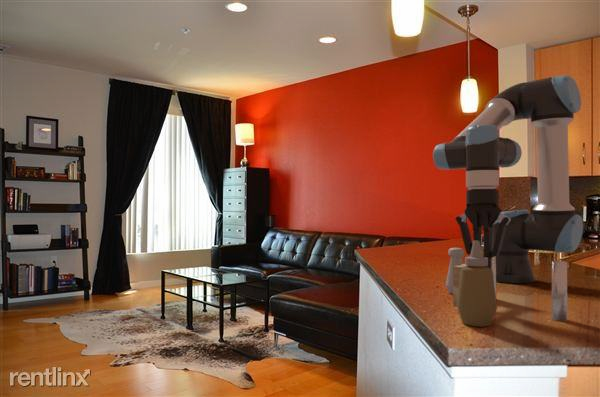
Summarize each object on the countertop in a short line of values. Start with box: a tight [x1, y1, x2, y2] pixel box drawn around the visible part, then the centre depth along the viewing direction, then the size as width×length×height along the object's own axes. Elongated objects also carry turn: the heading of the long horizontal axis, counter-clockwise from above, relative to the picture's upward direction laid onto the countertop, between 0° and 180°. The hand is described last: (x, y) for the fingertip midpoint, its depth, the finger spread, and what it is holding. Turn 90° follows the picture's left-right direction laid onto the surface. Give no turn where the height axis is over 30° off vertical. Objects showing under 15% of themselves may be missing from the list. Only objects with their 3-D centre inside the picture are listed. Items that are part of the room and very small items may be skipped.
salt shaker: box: [445, 247, 465, 295], centre depth 129 cm, size 6×6×13 cm
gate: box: [452, 263, 467, 308], centre depth 114 cm, size 18×2×10 cm, turn 136°
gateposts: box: [492, 256, 568, 322], centre depth 112 cm, size 25×3×13 cm, turn 18°
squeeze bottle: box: [456, 240, 497, 328], centre depth 98 cm, size 8×8×18 cm
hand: (483, 284), depth 111 cm, fingers closed
